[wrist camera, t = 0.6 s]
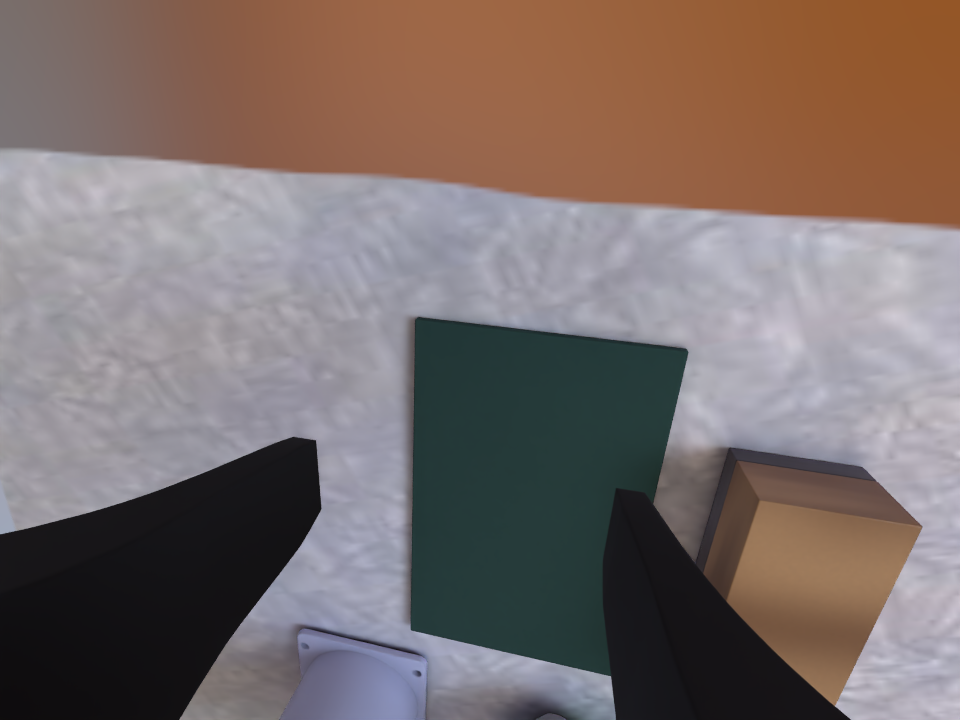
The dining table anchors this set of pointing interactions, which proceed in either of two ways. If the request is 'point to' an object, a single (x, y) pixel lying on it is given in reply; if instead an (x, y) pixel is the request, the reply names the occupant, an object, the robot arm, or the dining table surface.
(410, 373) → the dining table surface
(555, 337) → the desk mat
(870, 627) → the eraser
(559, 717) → the soda can
